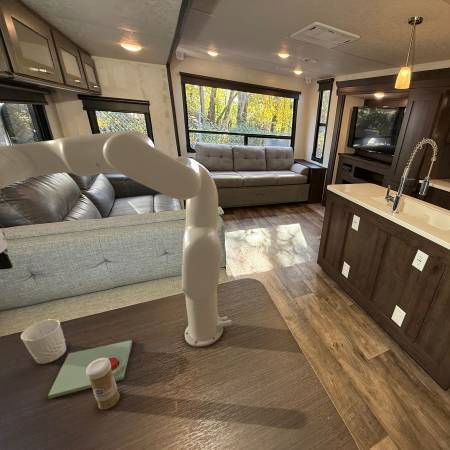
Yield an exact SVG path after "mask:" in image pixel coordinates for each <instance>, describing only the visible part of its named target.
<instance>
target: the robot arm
mask: <svg viewBox="0 0 450 450" xmlns="http://www.w3.org/2000/svg"><path fill="white" fill-rule="evenodd" d="M113 172H117V173H119V174H120V175H123V176H124V177H125V178H129V179H130V180H132V181H135V182H136V183H139V184H140V185H142V186H145V187H147V188H150V189H152V190H154V191H156V192H157V193H160V194H162V195H165V196H167V197H169V198H171V199H175V200H179V201H180V200H181V201H185V227H184V233H183V238H182V264H181V291H182V293H183V294H184V296H185V305H186V314H187V315H186V316H187V323H188V325H187V327H186V328H185V331H184V339H185V341H186V343H187V344H188V345H190V346H192V347H199V348H200V347H201V348H203V347H207V346H210V345H212V344H214V343H215V342H217V341H218V340H219V339H220V338H221V336H222V335H223V332H224V327H231V326H233V320H232V319H228V316H227V315H226V316H223V317H221V316H219V310H218V290H217V289H218V287H219V283H220V273H221V263H222V245H221V240H220V237H219V236H220V235H219V233H218V221H219V193H218V189H217V185H216V182H215V180H214V178H213V176H212V174H210V172H209V170H208V169H207V168H205V167H204V166H203V165H202V164H201V163H199V162H198V161H197V160H195V159H193V158H190V157H188V156H176V157H172V156H170V155H168V154H167V153H164V152H163V151H161V150H159V149H158V148H156V147H155V145H154V142H153V141H152V140H151V138H150V137H149V136H147V134H145V133H144V132H141V131H139V130H134V129H133V130H132V129H131V130H129V129H128V130H117V131H109V132H101V133H93V134H92V133H91V134H83V135H73V136H65V137H59V138H56V139H52V140H43V141H34V142H33V141H32V142H26V143H17V144H8V145H7V144H6V145H0V190H1V189H4V188H6V187H10V186H12V185H14V184H15V183H17V182H21V181H23V180H26V179H29V178H36V177H41V176H49V175H55V174H56V175H57V174H73V175H75V176H77V177H90V176H95V175H101V174H107V173H113ZM8 252H9V250H8V242H7V240H6V234H5V232H3V231H2V229H0V271H2V270H11V269H12V268H14V267H13V266H14V265H13V263H12V261H11V259H10V257H9V254H8Z"/></svg>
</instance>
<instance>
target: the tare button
mask: <svg viewBox="0 0 450 450" xmlns="http://www.w3.org/2000/svg"><path fill="white" fill-rule="evenodd" d="M109 360H110V363H111V370H112V371H113V370H114V369H116V368H117V366H118V361H117V358H115V357H112V358H109Z"/></svg>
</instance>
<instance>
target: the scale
mask: <svg viewBox="0 0 450 450" xmlns="http://www.w3.org/2000/svg"><path fill="white" fill-rule="evenodd" d="M132 345H133V340H132V339H130V340H125V341H121V342H117V343H116V342H115V343H110V344H107V345H102V346H97V347H93V348H88V349H84V350H83V349H82V350H78V351H74V352H69V353H67V356H66V358H65V360H64V362H63V364H62V365H61V368H60V370H59V371H58V375H57V376H56V378H55V380H54V383H53V385H52V386H51V389H50V390H49V392H48V395H47V397H48V399H53V398H57V397H60V396H64V395H68V394H72V393H76V392H79V391H84V390H88V389H90V388H92V385H91V382H90V379H89V378H88V377H87V374H86V369H87V367H88V365H89V364H90V363H92V362H93V361H95V360H97V359H99V358H107V359H109V358H112V357H115V358H117V361H118V366H117V368H116V369H114V370H113V371H112V373H113V376H114V379H115V382H117V381H121V380H124V379H125V374H126V370H127V366H128V362H129V357H130V353H131V350H132Z"/></svg>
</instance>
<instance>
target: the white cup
mask: <svg viewBox="0 0 450 450" xmlns="http://www.w3.org/2000/svg"><path fill="white" fill-rule="evenodd" d="M20 339H21V341H22V342H23V344H24V346H25V347H26V350H27V351H28V352H29V354H30V355H31V356H32V358H33V360H34V361H35V362H36V363H37V364H40V365H45V364H48V363H52V362H54V361H56V360H58V359H59V358H61V357H62V356H63V355H64V354H65V352H66V351H67V343H66V339H65V336H64V332H63V328H62V325H61V321H59V320H58V319H56V318H50V319H44V320H41V321H38V322H36V323H33V324H31V325H30V326H28V327H26V328H25V329H24V330H23V331H22V332H21V334H20Z"/></svg>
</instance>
